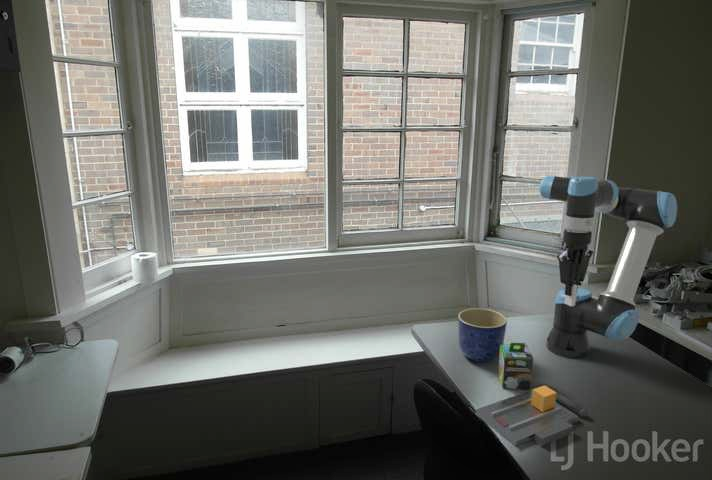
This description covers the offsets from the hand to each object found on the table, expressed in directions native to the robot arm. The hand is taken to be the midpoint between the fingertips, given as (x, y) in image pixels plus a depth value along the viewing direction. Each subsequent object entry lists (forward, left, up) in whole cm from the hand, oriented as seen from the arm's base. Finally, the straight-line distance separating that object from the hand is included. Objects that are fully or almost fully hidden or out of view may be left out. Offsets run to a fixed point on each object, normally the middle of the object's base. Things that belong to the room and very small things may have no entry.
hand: (569, 304), depth 147 cm
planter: (-29, -8, -30) cm, 42 cm away
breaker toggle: (+6, -14, -28) cm, 32 cm away
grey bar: (+16, -21, -29) cm, 39 cm away
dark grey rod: (+6, -6, -29) cm, 30 cm away
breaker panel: (+6, -21, -29) cm, 36 cm away
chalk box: (-10, -10, -30) cm, 33 cm away
